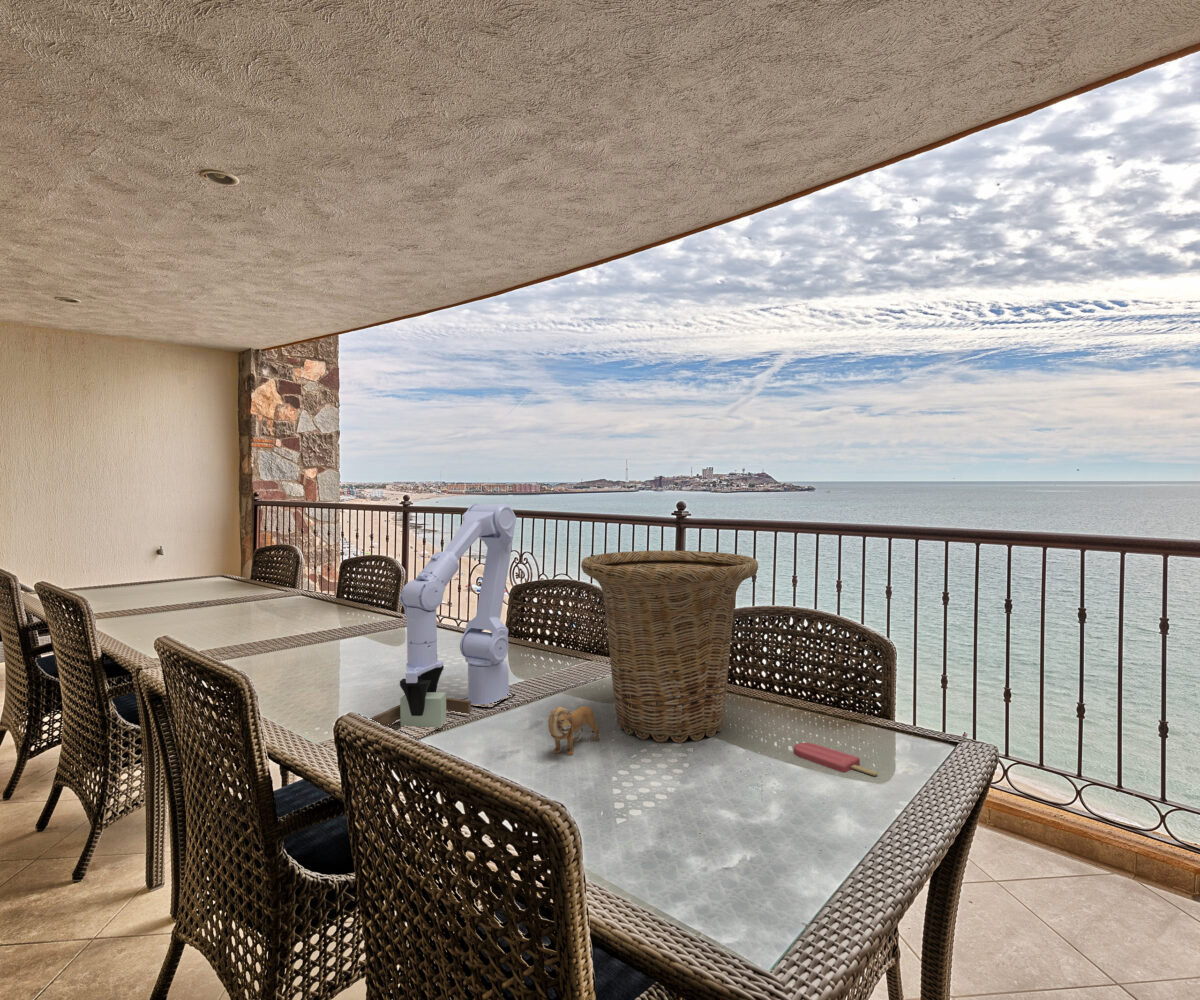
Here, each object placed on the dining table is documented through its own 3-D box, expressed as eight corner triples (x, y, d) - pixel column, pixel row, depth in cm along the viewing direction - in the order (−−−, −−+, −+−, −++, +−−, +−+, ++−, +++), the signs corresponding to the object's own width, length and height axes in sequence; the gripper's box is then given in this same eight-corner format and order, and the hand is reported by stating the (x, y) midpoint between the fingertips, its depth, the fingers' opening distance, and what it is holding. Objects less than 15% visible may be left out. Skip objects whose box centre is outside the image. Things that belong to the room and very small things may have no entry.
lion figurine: (567, 765, 114) (566, 713, 113) (540, 759, 116) (540, 708, 116) (605, 736, 127) (605, 689, 127) (580, 731, 129) (580, 685, 129)
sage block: (407, 721, 134) (406, 692, 134) (446, 721, 134) (446, 692, 134) (400, 728, 130) (400, 698, 130) (441, 729, 130) (440, 698, 130)
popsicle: (868, 774, 107) (787, 747, 118) (868, 784, 107) (787, 756, 118) (884, 765, 110) (804, 739, 121) (884, 774, 110) (804, 748, 121)
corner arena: (422, 708, 144) (421, 694, 144) (471, 715, 139) (471, 701, 139) (370, 733, 129) (370, 718, 129) (423, 742, 124) (423, 726, 124)
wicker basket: (761, 702, 145) (761, 551, 145) (754, 768, 112) (754, 571, 111) (607, 690, 155) (606, 549, 154) (558, 747, 121) (557, 566, 121)
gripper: (431, 649, 124) (432, 721, 125) (451, 632, 139) (452, 697, 139) (394, 649, 124) (395, 721, 125) (418, 632, 139) (418, 696, 139)
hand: (423, 708), depth 132 cm, fingers open, 7 cm apart
